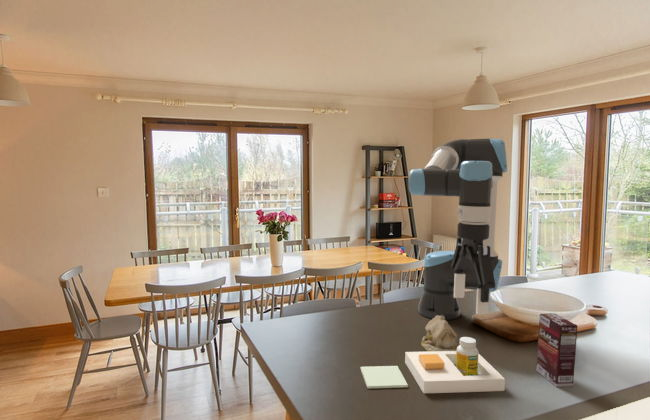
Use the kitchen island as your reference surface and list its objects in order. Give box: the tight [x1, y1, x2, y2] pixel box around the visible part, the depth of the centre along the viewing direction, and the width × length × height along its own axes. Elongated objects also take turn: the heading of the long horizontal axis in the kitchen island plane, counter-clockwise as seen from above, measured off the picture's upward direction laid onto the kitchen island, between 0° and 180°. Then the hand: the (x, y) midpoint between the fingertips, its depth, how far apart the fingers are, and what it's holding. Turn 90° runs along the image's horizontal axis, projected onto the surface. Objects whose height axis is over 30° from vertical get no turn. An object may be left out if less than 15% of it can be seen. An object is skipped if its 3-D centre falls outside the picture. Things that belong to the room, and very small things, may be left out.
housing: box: [404, 350, 506, 394], centre depth 106 cm, size 16×20×3 cm
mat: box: [359, 365, 409, 389], centre depth 104 cm, size 10×10×1 cm
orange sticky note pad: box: [419, 354, 445, 369], centre depth 105 cm, size 5×5×4 cm
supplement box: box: [535, 312, 578, 388], centre depth 104 cm, size 9×5×16 cm, turn 5°
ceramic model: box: [420, 315, 458, 352], centre depth 123 cm, size 14×11×10 cm
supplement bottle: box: [455, 336, 479, 376], centre depth 106 cm, size 5×5×10 cm
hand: (469, 305), depth 105 cm, fingers open, 13 cm apart
